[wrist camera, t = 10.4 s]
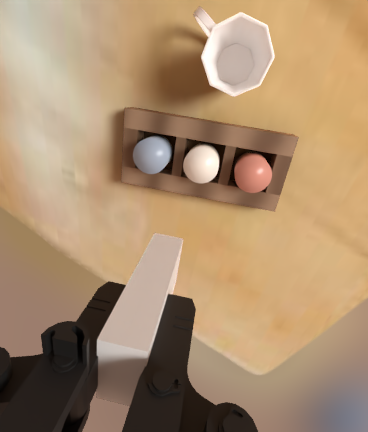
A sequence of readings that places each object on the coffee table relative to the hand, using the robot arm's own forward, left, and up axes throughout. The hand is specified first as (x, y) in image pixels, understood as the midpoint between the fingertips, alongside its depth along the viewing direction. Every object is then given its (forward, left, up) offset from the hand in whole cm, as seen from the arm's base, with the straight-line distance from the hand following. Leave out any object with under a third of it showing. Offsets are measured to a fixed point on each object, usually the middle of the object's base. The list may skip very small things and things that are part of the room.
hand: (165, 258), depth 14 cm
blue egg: (-5, -5, -25) cm, 26 cm away
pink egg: (+5, +5, -25) cm, 26 cm away
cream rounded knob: (0, 0, -25) cm, 25 cm away
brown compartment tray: (0, 0, -26) cm, 26 cm away
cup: (-9, +9, -27) cm, 29 cm away
